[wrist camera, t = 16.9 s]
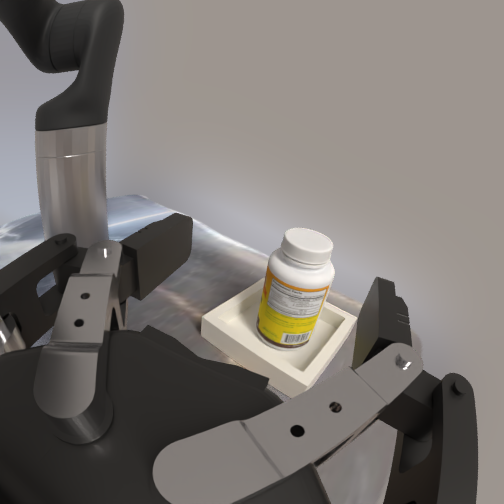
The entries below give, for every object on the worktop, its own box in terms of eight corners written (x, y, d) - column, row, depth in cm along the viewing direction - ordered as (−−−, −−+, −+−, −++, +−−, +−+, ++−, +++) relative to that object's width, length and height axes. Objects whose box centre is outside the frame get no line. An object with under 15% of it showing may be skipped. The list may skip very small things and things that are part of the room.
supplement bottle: (276, 306, 30) (297, 217, 26) (320, 332, 28) (353, 242, 23) (242, 331, 26) (259, 233, 22) (290, 363, 24) (324, 265, 19)
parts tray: (200, 335, 26) (201, 316, 25) (267, 290, 34) (271, 272, 33) (298, 403, 21) (307, 386, 20) (349, 334, 29) (357, 317, 28)
